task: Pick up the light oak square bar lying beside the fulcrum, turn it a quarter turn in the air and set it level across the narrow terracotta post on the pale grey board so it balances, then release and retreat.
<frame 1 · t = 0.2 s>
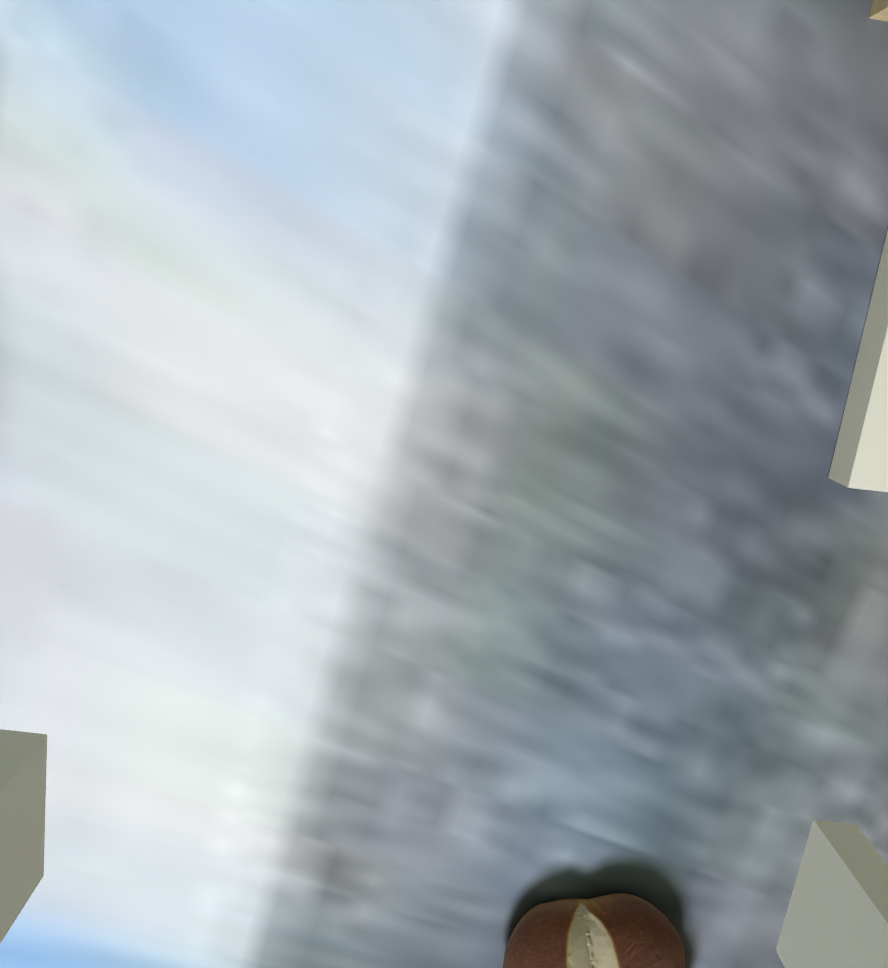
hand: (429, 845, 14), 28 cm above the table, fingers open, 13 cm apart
bread: (592, 960, 49), on the table
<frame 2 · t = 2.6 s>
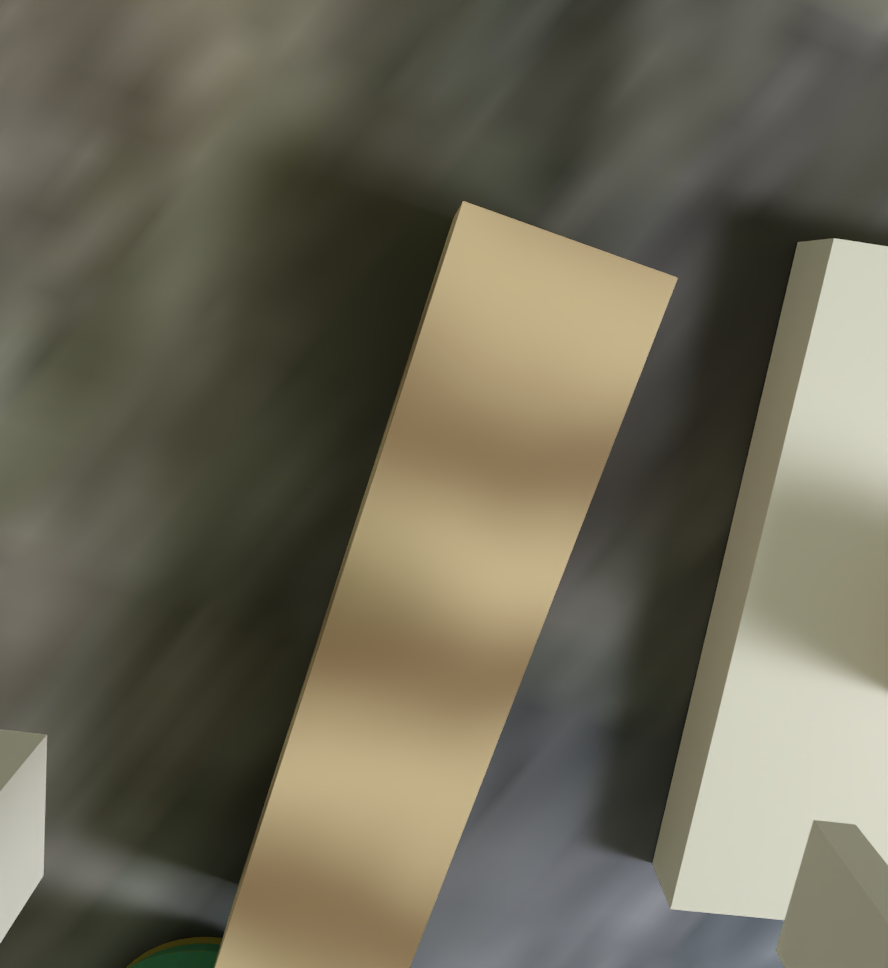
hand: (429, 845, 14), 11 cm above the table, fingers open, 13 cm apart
oak bar: (414, 604, 25), on the table
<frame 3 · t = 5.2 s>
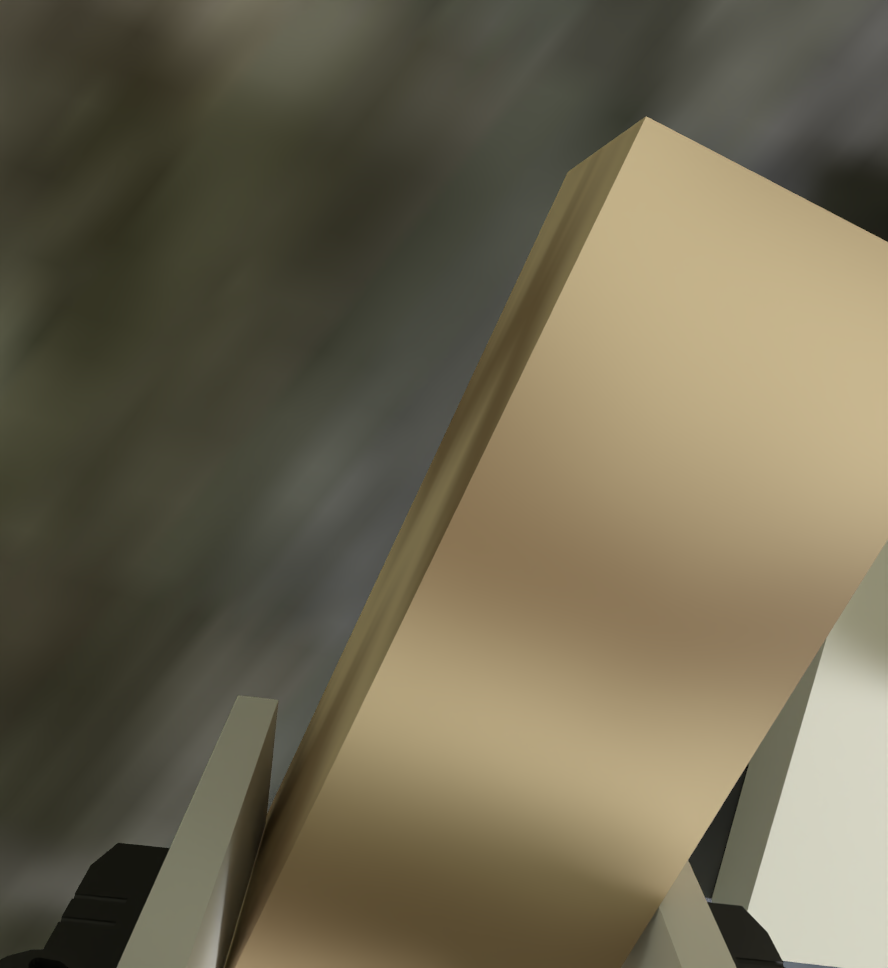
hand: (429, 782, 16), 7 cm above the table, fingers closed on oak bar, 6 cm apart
oak bar: (430, 757, 16), point 6 cm above the table, touching gripper
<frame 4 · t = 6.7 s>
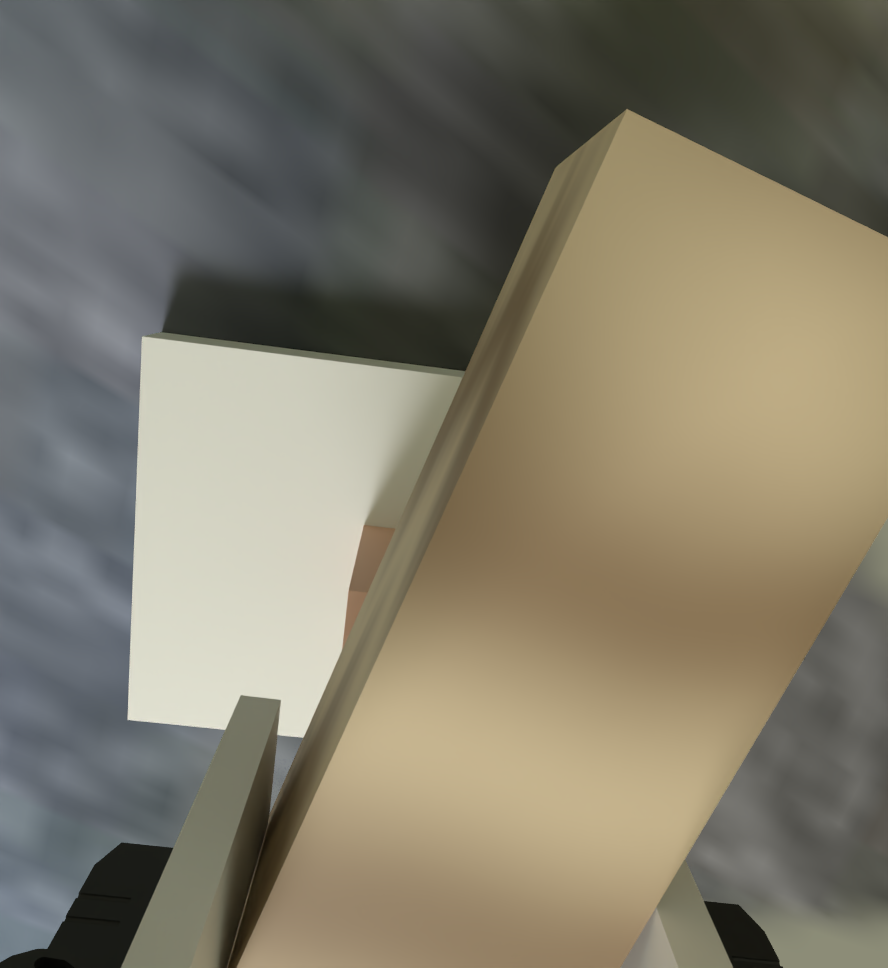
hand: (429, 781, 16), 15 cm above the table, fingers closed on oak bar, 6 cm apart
oak bar: (431, 756, 16), point 15 cm above the table, touching gripper
fulcrum: (421, 553, 31), on the table
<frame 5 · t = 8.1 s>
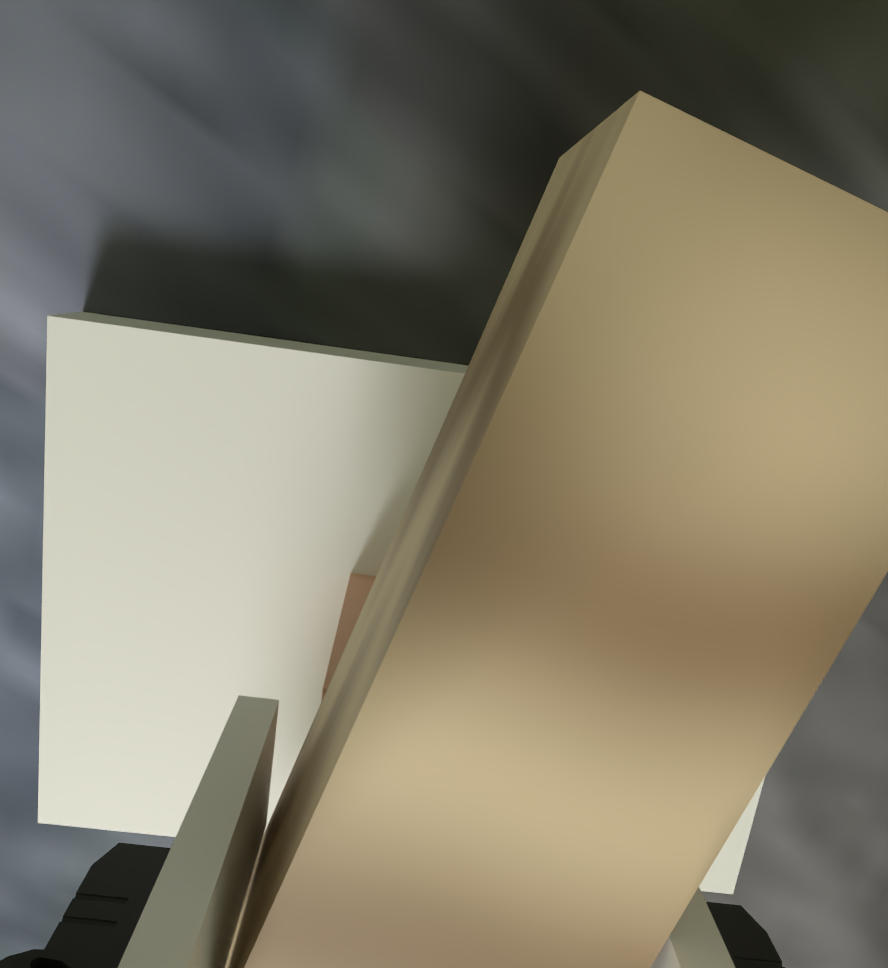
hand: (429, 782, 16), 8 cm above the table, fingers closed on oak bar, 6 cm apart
oak bar: (432, 770, 16), point 8 cm above the table, touching fulcrum, gripper
fulcrum: (426, 606, 23), on the table
when the fingers open (8 cm above the table, at t = 8.5 s): oak bar stays where it is, resting on fulcrum.
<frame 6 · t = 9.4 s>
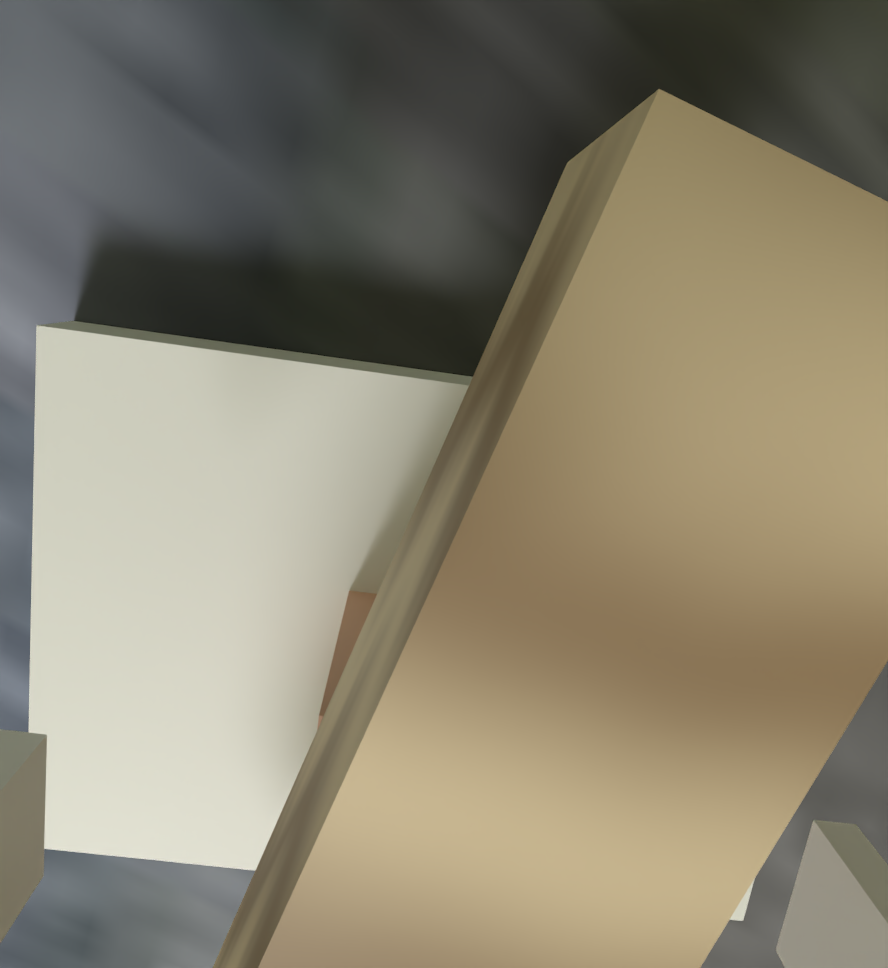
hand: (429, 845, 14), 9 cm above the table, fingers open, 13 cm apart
oak bar: (432, 801, 15), point 8 cm above the table, touching fulcrum
fulcrum: (427, 623, 23), on the table
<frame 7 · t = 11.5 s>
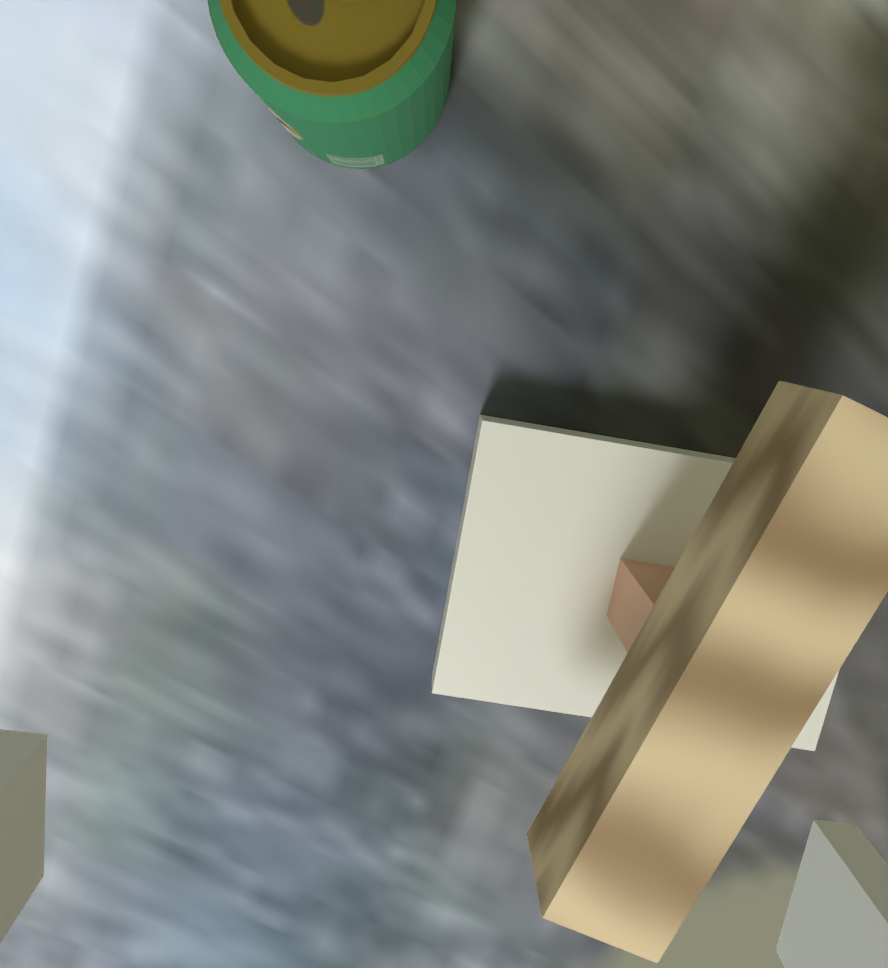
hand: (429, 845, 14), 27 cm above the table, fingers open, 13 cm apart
oak bar: (697, 644, 34), point 8 cm above the table, touching fulcrum
beverage can: (360, 78, 37), on the table
fulcrum: (646, 580, 42), on the table
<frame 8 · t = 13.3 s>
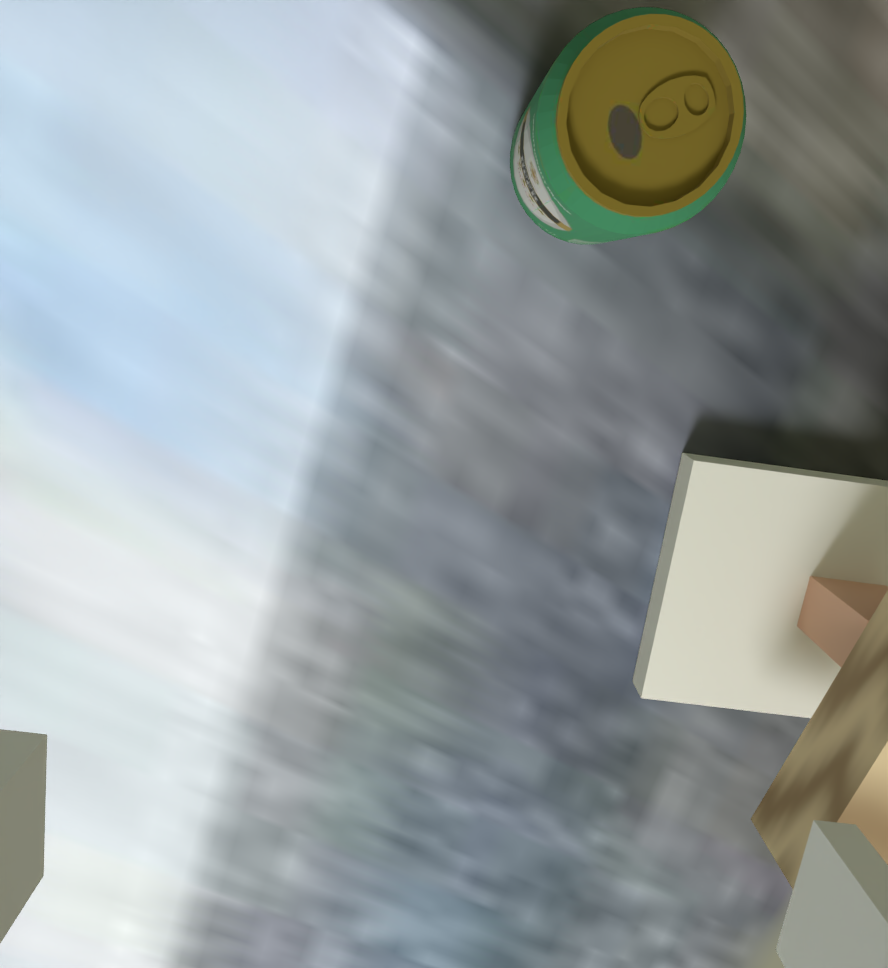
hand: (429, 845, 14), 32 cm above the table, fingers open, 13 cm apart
beverage can: (585, 163, 41), on the table
fulcrum: (824, 592, 47), on the table
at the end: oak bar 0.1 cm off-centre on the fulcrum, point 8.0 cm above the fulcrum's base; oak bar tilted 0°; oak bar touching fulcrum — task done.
